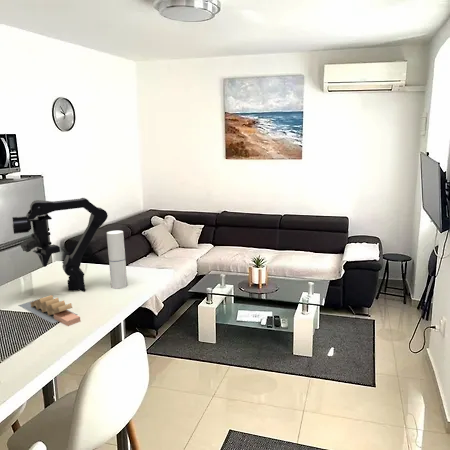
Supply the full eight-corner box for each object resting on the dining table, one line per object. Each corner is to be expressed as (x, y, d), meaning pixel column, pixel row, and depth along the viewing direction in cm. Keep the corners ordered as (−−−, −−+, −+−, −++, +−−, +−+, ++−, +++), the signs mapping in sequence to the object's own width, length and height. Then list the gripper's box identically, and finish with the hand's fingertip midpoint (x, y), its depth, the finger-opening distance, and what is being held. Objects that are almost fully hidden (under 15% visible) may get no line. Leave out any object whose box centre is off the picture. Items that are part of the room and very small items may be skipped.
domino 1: (30, 302, 174) (39, 298, 167) (42, 299, 178) (52, 295, 171) (31, 307, 174) (41, 303, 167) (43, 303, 177) (53, 299, 171)
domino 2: (35, 305, 171) (45, 301, 164) (47, 301, 175) (58, 297, 168) (36, 309, 171) (46, 306, 164) (49, 306, 175) (59, 302, 168)
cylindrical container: (113, 289, 193) (108, 234, 188) (109, 285, 199) (104, 231, 194) (129, 286, 196) (125, 232, 191) (125, 282, 203) (120, 229, 197)
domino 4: (47, 311, 165) (58, 307, 158) (59, 307, 169) (70, 303, 162) (48, 315, 165) (59, 311, 158) (60, 311, 169) (72, 307, 162)
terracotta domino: (53, 314, 162) (67, 321, 155) (66, 309, 166) (80, 316, 159) (54, 318, 162) (67, 325, 156) (66, 314, 166) (80, 321, 159)
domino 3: (41, 308, 168) (51, 304, 161) (53, 304, 172) (64, 300, 165) (42, 312, 168) (52, 309, 161) (54, 308, 172) (65, 304, 165)
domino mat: (18, 307, 176) (18, 305, 176) (42, 299, 184) (42, 297, 184) (52, 325, 158) (52, 323, 158) (77, 316, 166) (77, 314, 165)
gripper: (11, 231, 183) (16, 267, 186) (32, 237, 171) (36, 275, 174) (37, 226, 191) (41, 261, 194) (58, 232, 179) (62, 268, 182)
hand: (44, 266), depth 186 cm, fingers closed
